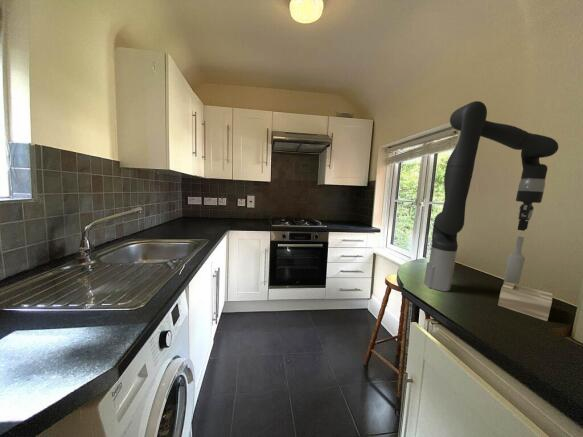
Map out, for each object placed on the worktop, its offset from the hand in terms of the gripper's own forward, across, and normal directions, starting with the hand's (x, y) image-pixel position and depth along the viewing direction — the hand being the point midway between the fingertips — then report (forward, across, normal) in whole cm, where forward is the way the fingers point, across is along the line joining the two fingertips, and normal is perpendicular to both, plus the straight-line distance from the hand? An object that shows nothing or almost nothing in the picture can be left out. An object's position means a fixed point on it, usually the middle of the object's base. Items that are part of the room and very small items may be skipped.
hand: (522, 229), depth 100 cm
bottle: (+28, 0, 0) cm, 28 cm away
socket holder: (+28, -13, -6) cm, 32 cm away
